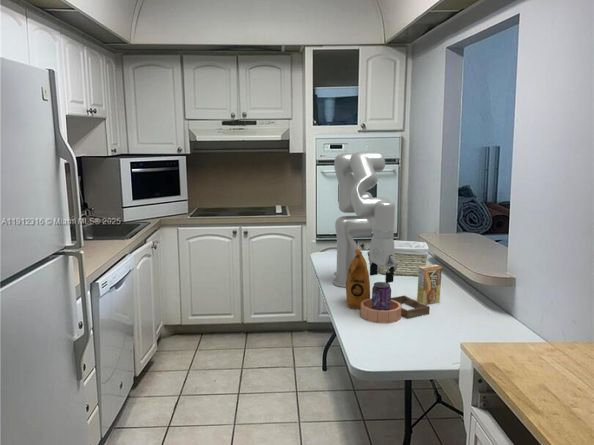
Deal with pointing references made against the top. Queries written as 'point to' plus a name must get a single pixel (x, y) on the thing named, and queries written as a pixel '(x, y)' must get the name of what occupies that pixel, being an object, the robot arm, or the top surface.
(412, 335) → the top surface
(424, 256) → the storage basket
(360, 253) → the coffee package
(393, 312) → the bowl
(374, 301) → the beverage can
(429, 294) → the candy box
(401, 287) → the top surface
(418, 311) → the tray frame
